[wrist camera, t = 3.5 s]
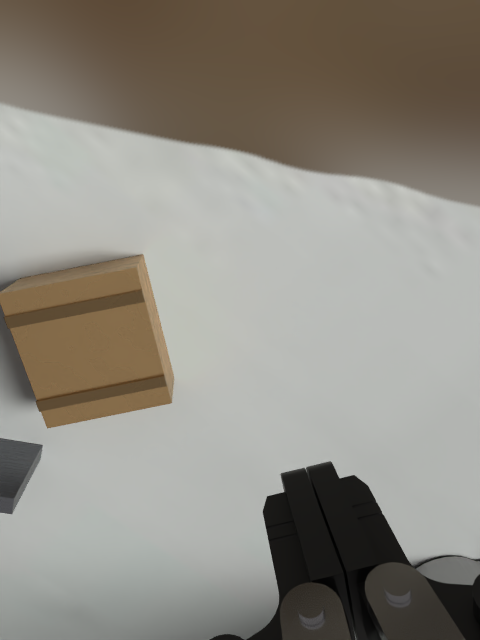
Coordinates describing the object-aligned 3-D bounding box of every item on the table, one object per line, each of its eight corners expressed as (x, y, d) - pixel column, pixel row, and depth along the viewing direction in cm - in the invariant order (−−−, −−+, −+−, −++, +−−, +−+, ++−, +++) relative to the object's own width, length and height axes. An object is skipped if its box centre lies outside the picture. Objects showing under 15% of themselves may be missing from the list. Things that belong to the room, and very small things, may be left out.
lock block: (143, 253, 30) (136, 268, 26) (174, 375, 33) (171, 404, 29) (21, 277, 30) (-5, 295, 26) (64, 397, 33) (46, 430, 29)
